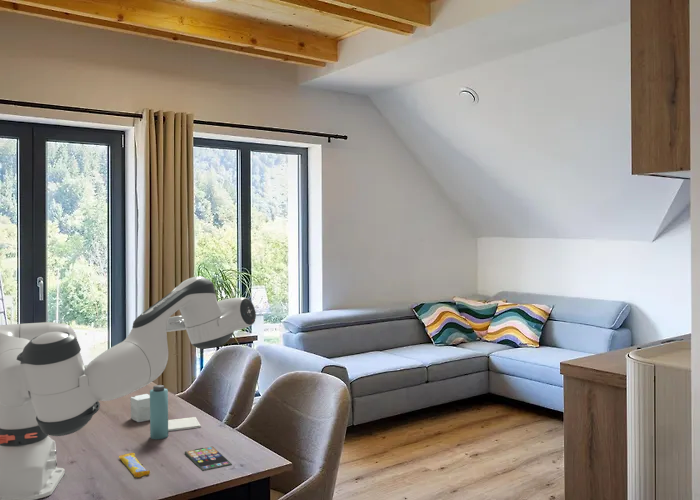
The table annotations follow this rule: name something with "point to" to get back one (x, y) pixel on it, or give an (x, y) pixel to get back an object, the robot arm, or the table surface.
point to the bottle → (158, 412)
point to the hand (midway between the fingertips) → (176, 325)
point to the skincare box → (140, 407)
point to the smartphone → (207, 458)
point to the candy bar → (134, 465)
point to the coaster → (183, 424)
